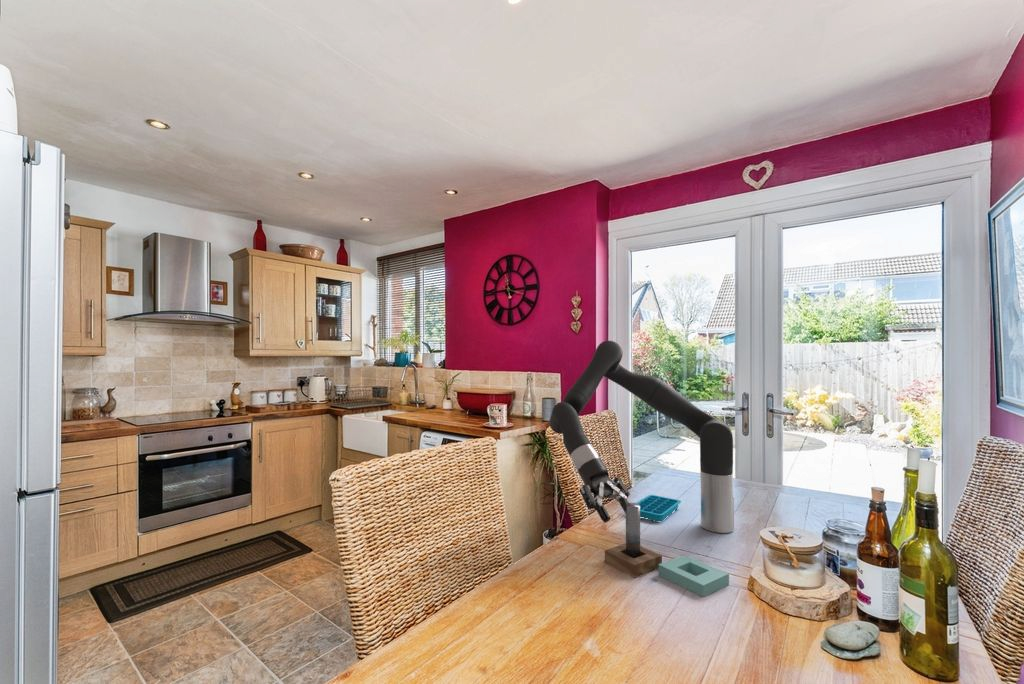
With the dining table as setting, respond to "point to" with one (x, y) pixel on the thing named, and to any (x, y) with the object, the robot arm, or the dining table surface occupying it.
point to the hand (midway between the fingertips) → (619, 517)
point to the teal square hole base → (700, 584)
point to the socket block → (633, 560)
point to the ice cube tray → (657, 507)
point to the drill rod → (633, 530)
